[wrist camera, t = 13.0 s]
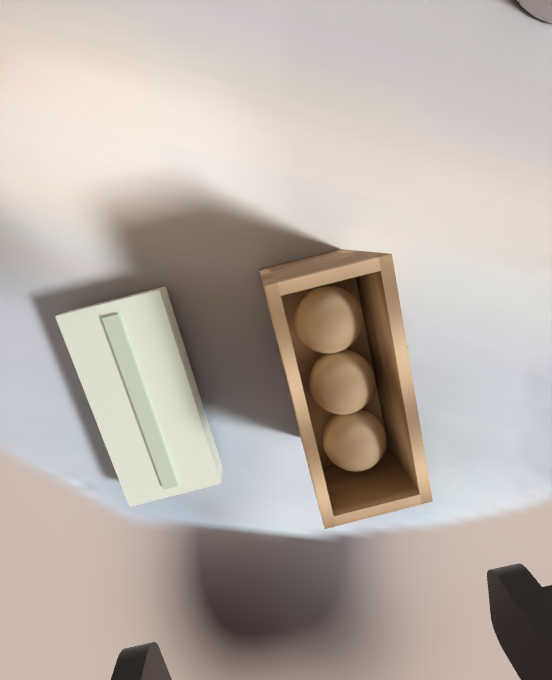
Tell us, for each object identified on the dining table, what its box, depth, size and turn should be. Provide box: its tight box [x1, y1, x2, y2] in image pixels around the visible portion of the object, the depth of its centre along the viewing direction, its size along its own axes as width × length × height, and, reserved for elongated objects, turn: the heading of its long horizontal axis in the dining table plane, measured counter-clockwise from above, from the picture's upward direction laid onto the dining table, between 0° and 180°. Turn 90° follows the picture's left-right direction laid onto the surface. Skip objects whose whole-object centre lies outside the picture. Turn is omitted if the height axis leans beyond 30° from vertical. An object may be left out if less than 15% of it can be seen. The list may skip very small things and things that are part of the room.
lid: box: [55, 286, 223, 507], centre depth 28 cm, size 14×7×3 cm, turn 14°
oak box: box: [259, 249, 432, 529], centre depth 24 cm, size 13×6×10 cm, turn 14°
